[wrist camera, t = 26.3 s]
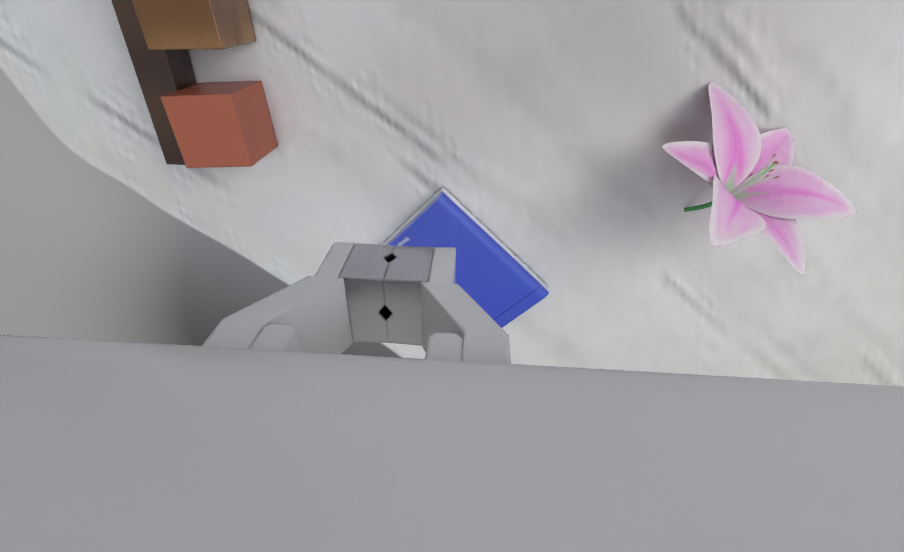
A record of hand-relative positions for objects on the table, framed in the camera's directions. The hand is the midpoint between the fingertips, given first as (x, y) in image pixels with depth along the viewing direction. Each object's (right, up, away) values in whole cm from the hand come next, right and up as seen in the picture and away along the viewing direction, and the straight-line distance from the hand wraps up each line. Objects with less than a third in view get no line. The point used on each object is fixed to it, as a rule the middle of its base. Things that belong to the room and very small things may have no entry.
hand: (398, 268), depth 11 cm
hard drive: (+2, +1, +27) cm, 27 cm away
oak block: (-14, +17, +17) cm, 28 cm away
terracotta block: (-14, +11, +21) cm, 28 cm away
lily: (+20, +8, +21) cm, 30 cm away
